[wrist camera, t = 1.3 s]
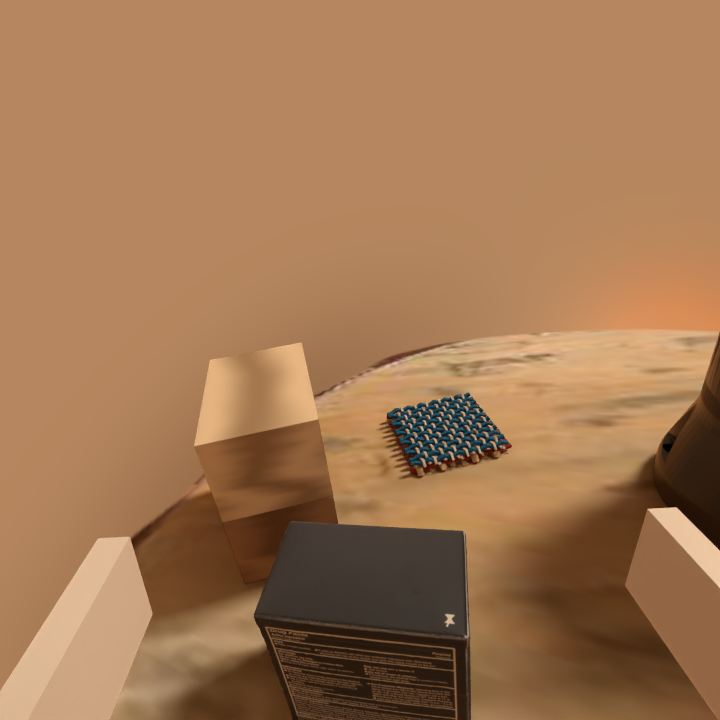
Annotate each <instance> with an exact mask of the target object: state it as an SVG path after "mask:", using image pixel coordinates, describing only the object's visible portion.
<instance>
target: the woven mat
mask: <svg viewBox="0 0 720 720" xmlns="http://www.w3.org/2000/svg"><path fill="white" fill-rule="evenodd" d="M469 396H471V395H470V394H469V392H468V393H466V394H464V395H461V394H459V395H455V396H454V397H452V396H450V397H449V398H443V397H442V399H441V400H439V399H437V400H432V401H431V402H430V403H429V404H428V403H427V402H425V403H419V404H418V405H417V406H416V405H413V406H407V407H405V408H400V409H399V408H395V409H394V410H393V411H391V412H389V413H387V419H391V421H390V422H389V425H391V428H393V432H395V436H396V437H397V436H399V438H400V439H399V438H397V440H396V441H397V442H398V443H399V445H400V446H403V447H402V448H401V449H402V451H404V456H406V461H409V462H408V464H409V466H413V468H414V469H412V468H411V470H410V472H411V473H413V474H418V476H422V475H425V473H424V472H425V471H426V470H428V469H429V471H430V472H435V469H434V467H436V466H438V467H439V468H440V469H441V470H442V471H444V470H446V469H447V465H446V463H449V465H450V466H452V467H455V466H456V461H460V462H461V464H462V465H463V467H465V466H469V464H468V462H467V461H466V460H470V461H471V460H472V461H473V463H475V462H479V461H480V460H479V459H480V458H481V457H482V458H483V459H487V458H488V457H487V456H486V454H490V453H491V454H492V455H493V456H494V457H496V458H497V457H499V456H500V452H499V451H502V452H503V453H504V454H508V453H509V452H508V450H507V449H508V448H511V447H512V445H511V444H508V443H509V442H508V441H507V440H506V439H505V437H504V435H503V434H501V432H500V431H499V429H497V427H496V426H495V425H493V423H492V421H489V420H490V418H489V417H488V416H487V415H486V414H485V412H484V413H483V409H482V408H480V407H479V405H478V404H477V403H476V401H475V400H474V399H473V397H469ZM469 401H471V402H469ZM449 402H450V403H449ZM476 404H477V405H476ZM424 407H426V408H424ZM420 408H421V409H420ZM479 408H480V409H479ZM428 411H429V412H428ZM395 413H396V414H395ZM486 416H487V417H486ZM443 421H445V422H443ZM465 421H466V422H465ZM399 422H400V423H399ZM434 423H435V424H434ZM492 425H493V426H492ZM504 444H505V445H504ZM461 448H462V450H459V449H461ZM412 449H413V450H412ZM436 449H437V450H436ZM485 449H486V450H485ZM476 452H477V453H478V454H477V453H476ZM407 455H408V456H407ZM422 466H423V467H422Z"/></svg>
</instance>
